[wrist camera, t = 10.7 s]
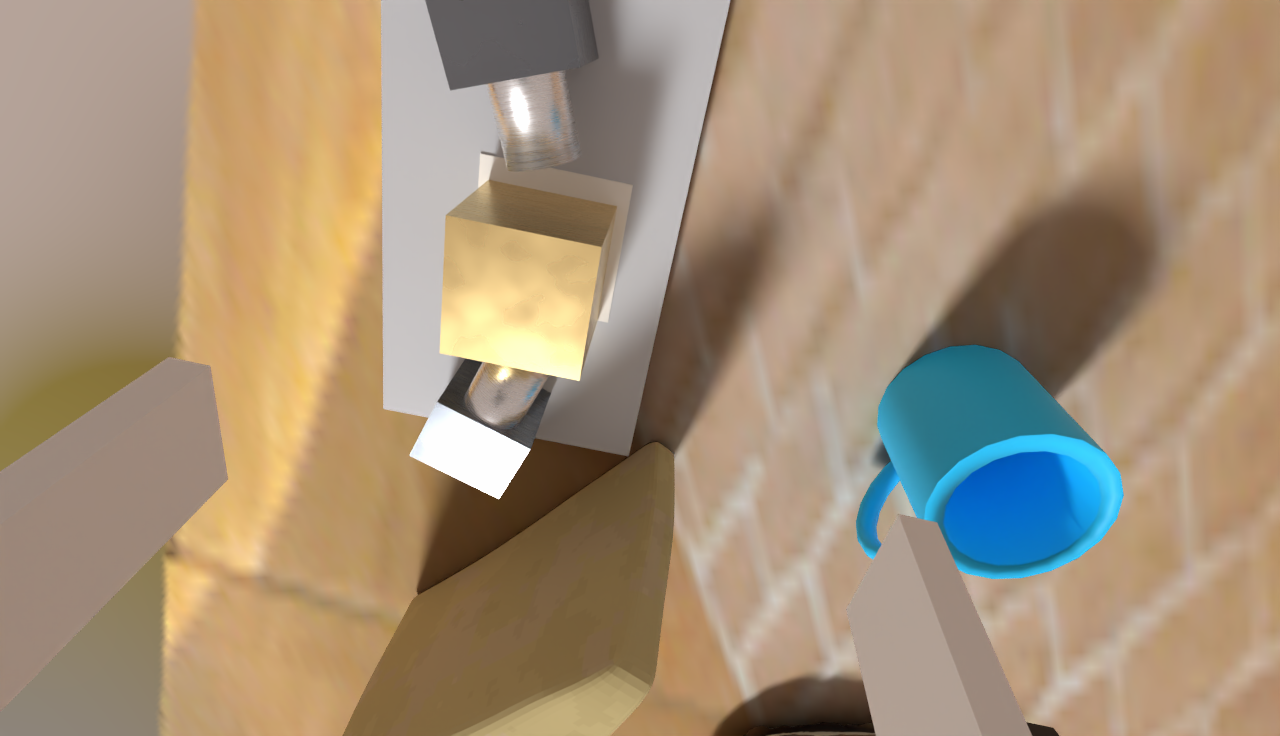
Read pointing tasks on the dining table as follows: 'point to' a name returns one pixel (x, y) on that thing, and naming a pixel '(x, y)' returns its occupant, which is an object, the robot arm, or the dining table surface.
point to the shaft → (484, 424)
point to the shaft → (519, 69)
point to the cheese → (539, 622)
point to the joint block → (524, 278)
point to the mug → (991, 465)
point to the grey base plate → (606, 173)
